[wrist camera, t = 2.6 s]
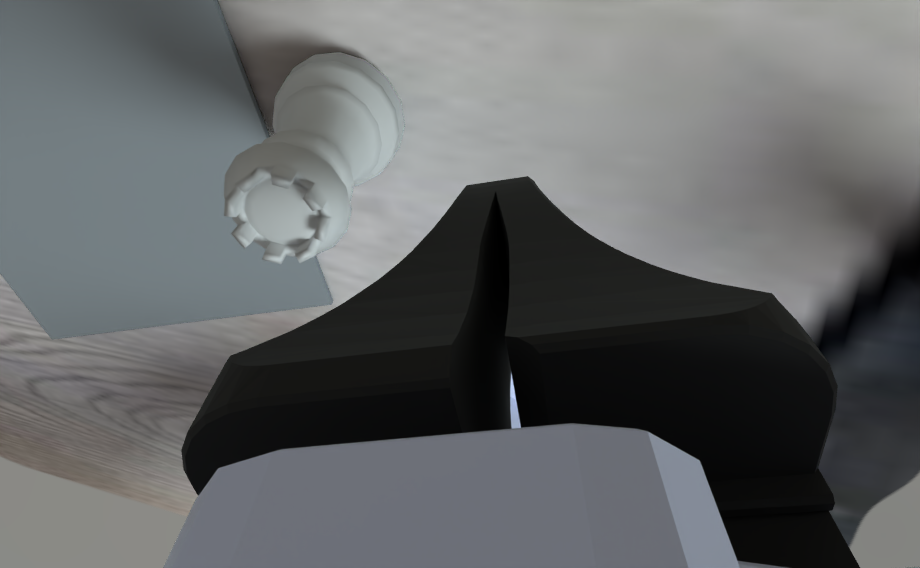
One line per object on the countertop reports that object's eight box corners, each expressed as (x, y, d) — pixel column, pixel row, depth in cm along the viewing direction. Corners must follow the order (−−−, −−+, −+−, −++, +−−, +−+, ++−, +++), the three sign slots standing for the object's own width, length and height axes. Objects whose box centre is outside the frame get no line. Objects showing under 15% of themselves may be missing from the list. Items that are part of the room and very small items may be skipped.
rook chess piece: (427, 88, 19) (397, 187, 13) (377, 191, 22) (331, 319, 15) (305, 22, 18) (205, 94, 12) (267, 138, 21) (165, 251, 14)
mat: (333, 300, 25) (331, 304, 25) (56, 335, 27) (51, 339, 27) (162, -142, 16) (157, -143, 16) (-237, -44, 18) (-247, -43, 18)
